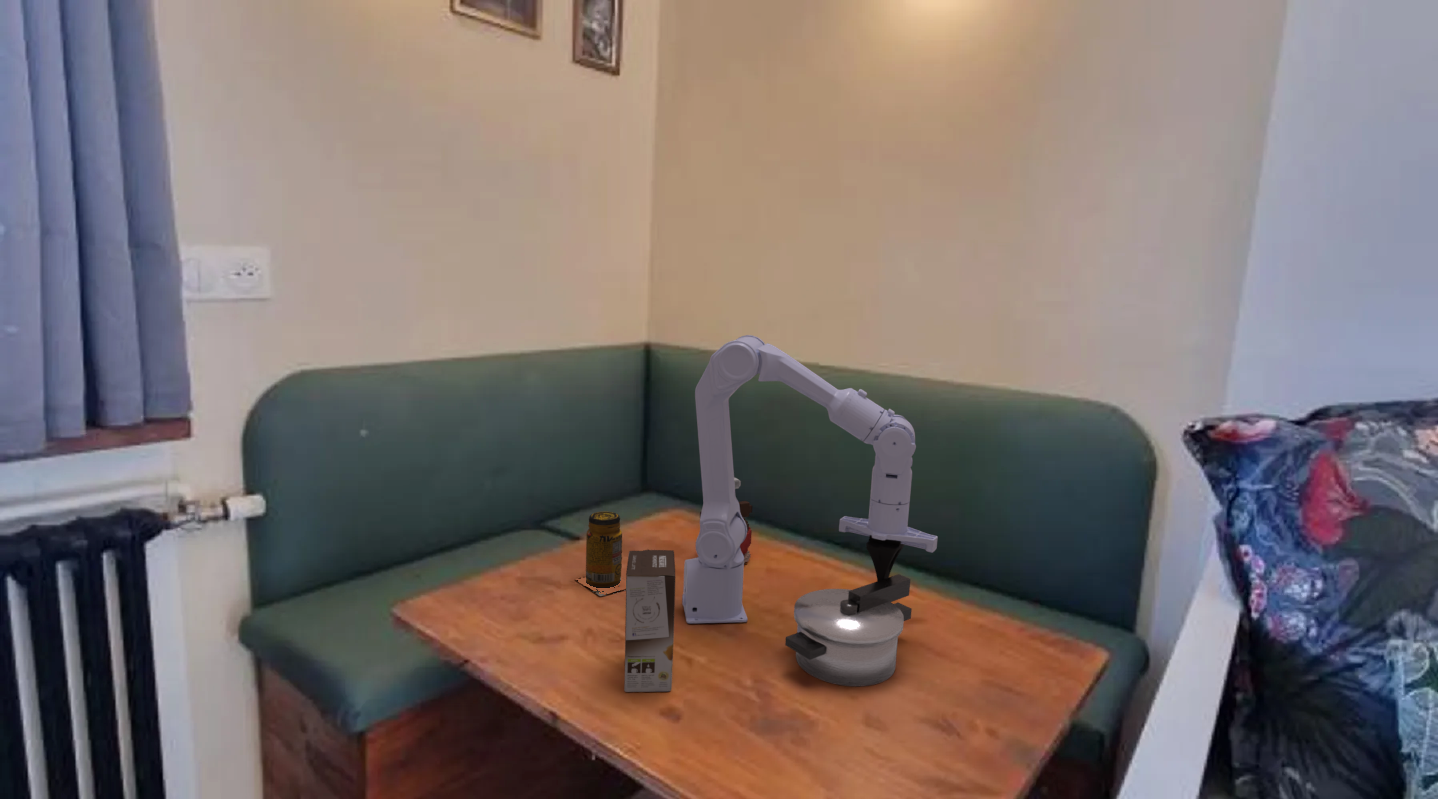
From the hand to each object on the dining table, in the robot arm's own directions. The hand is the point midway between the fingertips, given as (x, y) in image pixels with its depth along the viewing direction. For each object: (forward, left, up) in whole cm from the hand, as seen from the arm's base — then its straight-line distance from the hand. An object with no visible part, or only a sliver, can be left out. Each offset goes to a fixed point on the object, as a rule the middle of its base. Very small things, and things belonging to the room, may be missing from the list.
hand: (882, 585), depth 119 cm
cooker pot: (-6, -6, -8) cm, 12 cm away
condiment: (-41, +21, -8) cm, 47 cm away
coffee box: (-35, -9, -8) cm, 37 cm away
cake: (-19, +31, -8) cm, 37 cm away
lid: (-5, -6, -2) cm, 8 cm away
